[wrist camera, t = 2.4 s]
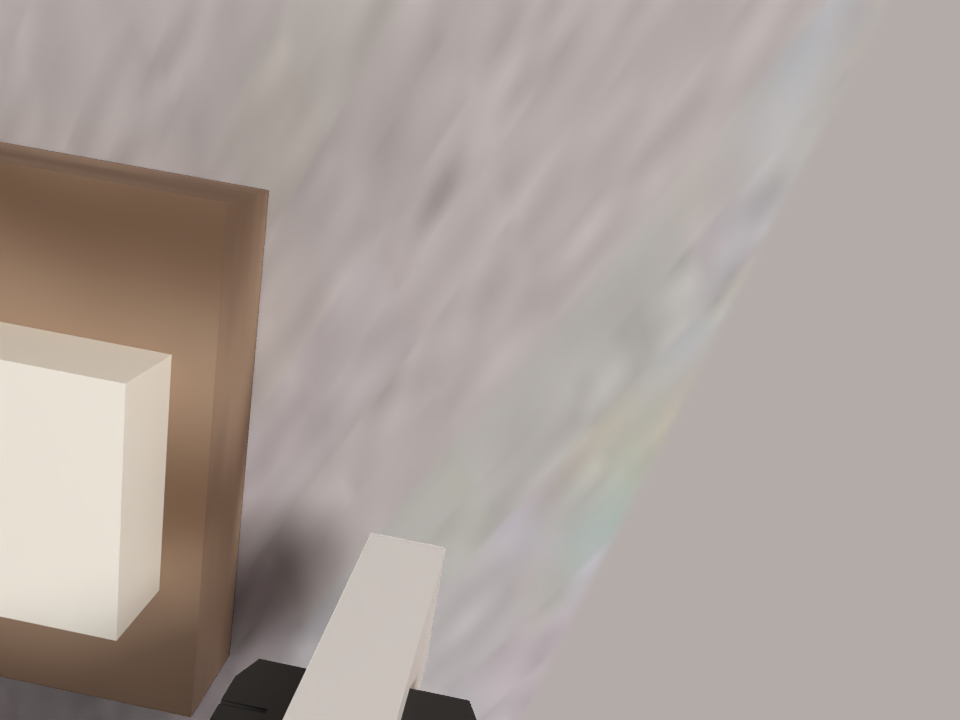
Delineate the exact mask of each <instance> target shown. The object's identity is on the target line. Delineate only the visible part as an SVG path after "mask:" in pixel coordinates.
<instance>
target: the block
mask: <svg viewBox="0 0 960 720" xmlns="http://www.w3.org/2000/svg"><path fill="white" fill-rule="evenodd" d="M171 358H172V355H171V354H166V353H161V352H155V351H150V350H145V349H140V348H135V347H129V346H124V345H119V344H114V343H108V342H103V341H98V340H93V339H88V338H82V337H77V336H72V335H67V334H62V333H56V332H51V331H46V330H41V329H35V328H30V327H25V326H20V325H15V324H9V323H4V322H0V617H5V618H10V619H15V620H19V621H24V622H29V623H34V624H38V625H43V626H48V627H53V628H57V629H62V630H67V631H72V632H77V633H81V634H86V635H91V636H96V637H100V638H105V639H110V640H115V641H117V640H118V638H119V637H120V636H121V635H122V634H123V633H124V631H125V630H126V629H127V628H128V627H129V625H130V624H131V623H132V622H133V621H134V619H135V618H136V617H137V616H138V615H139V614H140V612H141V611H142V610H143V609H144V608H145V606H146V605H147V604H148V603H149V602H150V601H151V599H152V598H153V597H154V596H155V595H156V593H157V592H158V591H159V585H160V566H161V547H162V528H163V509H164V490H165V471H166V453H167V434H168V415H169V396H170V377H171Z"/></svg>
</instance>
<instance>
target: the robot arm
mask: <svg viewBox="0 0 960 720" xmlns="http://www.w3.org/2000/svg"><path fill="white" fill-rule="evenodd" d="M445 550H446V547H441V546H436V545H431V544H426V543H421V542H416V541H411V540H406V539H401V538H396V537H391V536H386V535H381V534H376V533H371V534H370V536H369V538H368V540H367V542H366V544H365V546H364V548H363V551H362V553H361V555H360V557H359V559H358V561H357V563H356V565H355V568H354V570H353V572H352V574H351V576H350V578H349V580H348V582H347V584H346V587H345V589H344V591H343V593H342V595H341V597H340V599H339V601H338V603H337V606H336V608H335V610H334V612H333V614H332V616H331V618H330V620H329V622H328V625H327V627H326V629H325V631H324V633H323V635H322V637H321V639H320V641H319V644H318V646H317V648H316V650H315V652H314V654H313V656H312V658H311V661H310V663H309V665H308V667H307V669H305V668H300V667H296V666H291V665H286V664H281V663H276V662H272V661H267V660H262V659H259V660H257V661H256V662H254V663H253V664H252V665H250V666H249V667H248V668H246V669H245V670H243V671H242V672H241V673H239V674H238V675H237V676H235V678H234V679H233V681H232V683H231V684H230V686H229V688H228V690H227V691H226V693H225V695H224V696H223V698H222V700H221V704H219V705H218V706H217V708H216V710H215V711H214V713H213V715H212V717H211V718H210V720H476V717H475V715H474V712H473V709H472V707H471V704H470V701H468V700H463V699H459V698H454V697H449V696H444V695H440V694H435V693H430V692H425V691H420V690H419V689H420V685H421V681H422V677H423V673H424V670H425V666H426V661H427V655H428V649H429V643H430V637H431V632H432V626H433V620H434V614H435V608H436V602H437V597H438V591H439V585H440V579H441V573H442V567H443V562H444V556H445Z"/></svg>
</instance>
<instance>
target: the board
mask: <svg viewBox="0 0 960 720" xmlns="http://www.w3.org/2000/svg"><path fill="white" fill-rule="evenodd" d="M268 196H269V190H264V189H258V188H253V187H247V186H242V185H236V184H230V183H225V182H219V181H214V180H208V179H203V178H197V177H192V176H186V175H181V174H175V173H170V172H164V171H158V170H153V169H147V168H142V167H136V166H131V165H125V164H120V163H114V162H109V161H103V160H97V159H92V158H86V157H81V156H75V155H70V154H64V153H59V152H53V151H48V150H42V149H36V148H31V147H25V146H20V145H14V144H9V143H3V142H0V322H4V323H9V324H15V325H20V326H25V327H30V328H35V329H41V330H46V331H51V332H56V333H62V334H67V335H72V336H77V337H82V338H88V339H93V340H98V341H103V342H108V343H114V344H119V345H124V346H129V347H135V348H140V349H145V350H150V351H155V352H161V353H166V354H171V355H172V358H171V377H170V396H169V415H168V434H167V453H166V471H165V490H164V509H163V528H162V547H161V566H160V585H159V591H158V592H157V593H156V595H155V596H154V597H153V598H152V599H151V601H150V602H149V603H148V604H147V605H146V606H145V608H144V609H143V610H142V611H141V612H140V614H139V615H138V616H137V617H136V618H135V619H134V621H133V622H132V623H131V624H130V625H129V627H128V628H127V629H126V630H125V631H124V633H123V634H122V635H121V636H120V637H119V638H118V640H117V641H115V640H110V639H105V638H100V637H96V636H91V635H86V634H81V633H77V632H72V631H67V630H62V629H57V628H53V627H48V626H43V625H38V624H34V623H29V622H24V621H19V620H15V619H10V618H5V617H0V676H1V677H6V678H10V679H15V680H20V681H25V682H29V683H34V684H39V685H43V686H48V687H53V688H57V689H62V690H67V691H71V692H76V693H81V694H85V695H90V696H95V697H99V698H104V699H109V700H113V701H118V702H123V703H127V704H132V705H137V706H141V707H146V708H151V709H155V710H160V711H165V712H169V713H174V714H179V715H183V716H188V717H192V715H193V713H194V712H195V710H196V709H197V707H198V705H199V704H200V702H201V700H202V699H203V697H204V696H205V694H206V692H207V691H208V689H209V687H210V686H211V684H212V683H213V681H214V679H215V678H216V676H217V675H218V673H219V671H220V670H221V668H222V666H223V665H224V663H225V662H226V660H227V658H228V657H229V655H230V643H231V631H232V619H233V608H234V596H235V584H236V572H237V561H238V549H239V537H240V525H241V513H242V502H243V490H244V478H245V466H246V455H247V443H248V431H249V419H250V408H251V396H252V384H253V372H254V360H255V349H256V337H257V325H258V313H259V302H260V290H261V278H262V266H263V254H264V243H265V231H266V219H267V207H268Z"/></svg>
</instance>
